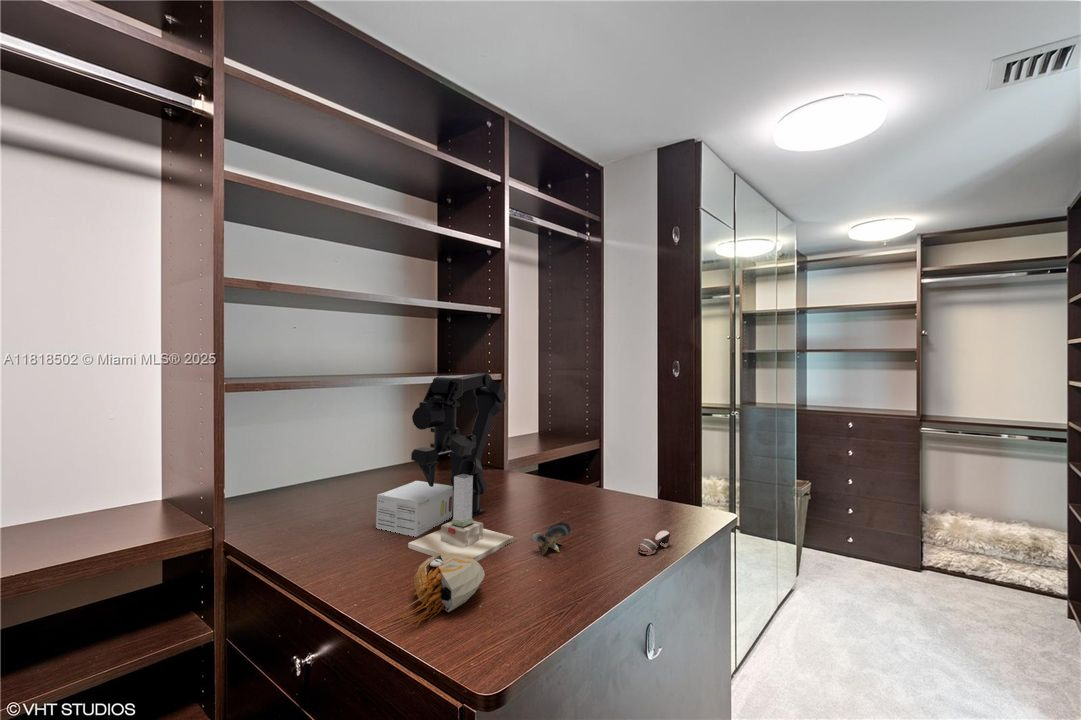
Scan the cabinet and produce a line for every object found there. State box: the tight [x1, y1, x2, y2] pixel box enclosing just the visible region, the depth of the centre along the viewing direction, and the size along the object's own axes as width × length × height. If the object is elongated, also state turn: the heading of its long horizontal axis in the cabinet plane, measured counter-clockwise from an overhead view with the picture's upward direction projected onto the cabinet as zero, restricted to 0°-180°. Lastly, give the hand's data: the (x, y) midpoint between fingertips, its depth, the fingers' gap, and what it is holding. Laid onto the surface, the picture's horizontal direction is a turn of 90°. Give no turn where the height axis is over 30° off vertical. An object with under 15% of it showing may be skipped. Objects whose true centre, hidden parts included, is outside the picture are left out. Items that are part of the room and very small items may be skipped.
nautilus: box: [398, 553, 486, 628], centre depth 92 cm, size 8×22×15 cm
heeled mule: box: [637, 529, 672, 552], centre depth 121 cm, size 4×11×4 cm, turn 128°
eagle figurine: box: [531, 521, 572, 556], centre depth 119 cm, size 8×7×9 cm
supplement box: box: [375, 480, 454, 538], centre depth 134 cm, size 17×13×9 cm
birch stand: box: [407, 520, 514, 562], centre depth 120 cm, size 18×18×5 cm
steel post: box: [451, 474, 474, 527], centre depth 120 cm, size 4×4×12 cm
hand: (443, 482), depth 132 cm, fingers open, 9 cm apart
